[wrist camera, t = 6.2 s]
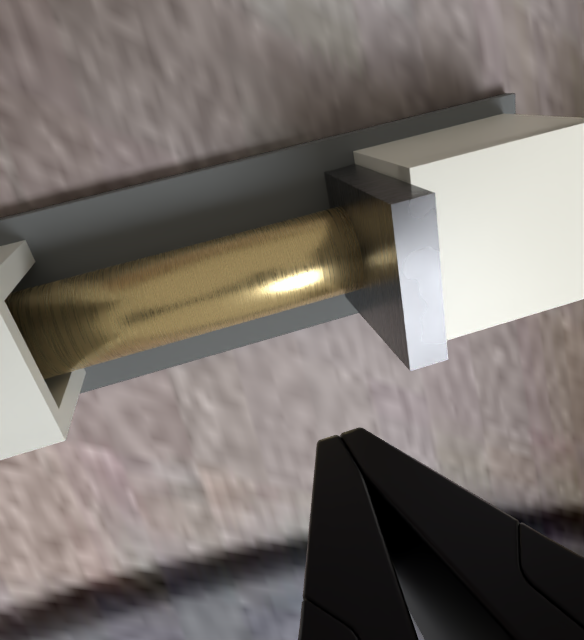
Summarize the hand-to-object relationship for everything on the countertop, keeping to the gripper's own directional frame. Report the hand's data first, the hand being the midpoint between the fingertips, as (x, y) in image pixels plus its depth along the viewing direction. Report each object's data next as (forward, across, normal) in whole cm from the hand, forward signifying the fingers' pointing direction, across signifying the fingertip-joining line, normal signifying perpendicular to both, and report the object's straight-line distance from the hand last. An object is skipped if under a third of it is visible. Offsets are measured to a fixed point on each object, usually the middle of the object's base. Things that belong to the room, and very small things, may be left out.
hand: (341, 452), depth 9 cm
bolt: (+11, -1, 0) cm, 11 cm away
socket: (+11, -8, 0) cm, 14 cm away
